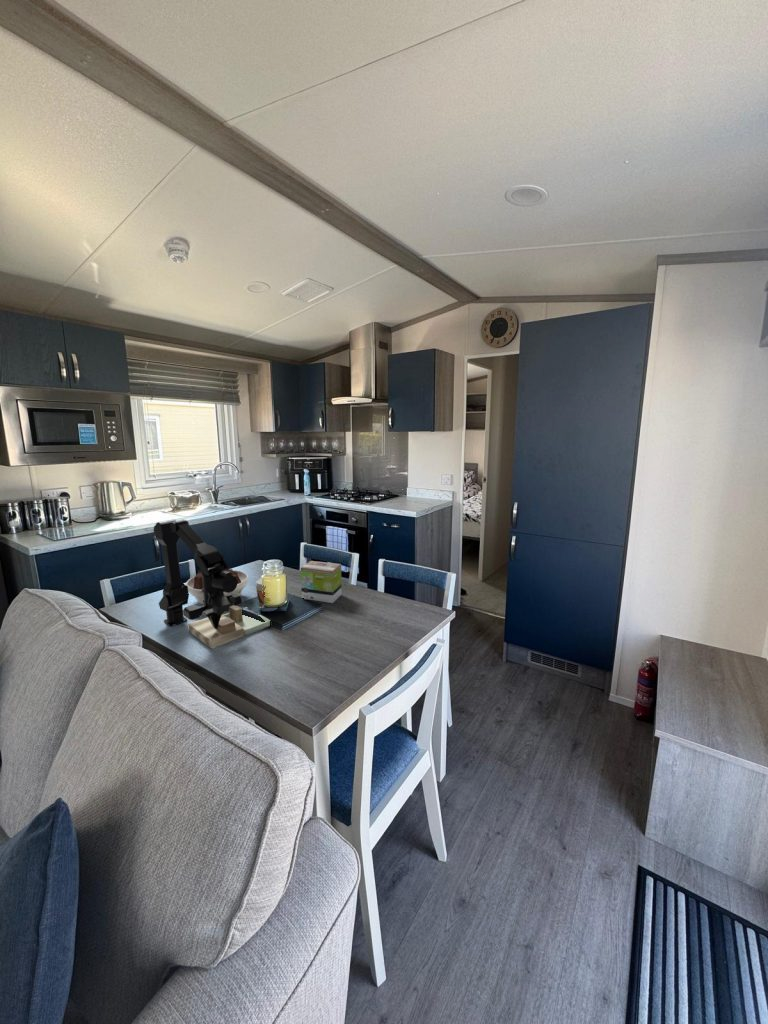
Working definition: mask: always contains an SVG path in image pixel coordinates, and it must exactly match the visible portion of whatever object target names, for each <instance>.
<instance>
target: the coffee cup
mask: <svg viewBox="0 0 768 1024" xmlns="http://www.w3.org/2000/svg"><path fill="white" fill-rule="evenodd" d="M262 578H263V577H261V578H259V579H257V580H256V581H255V587H256V588H255V589H256V593H257V594H256V595H257V602H258V607H259V606H260V607H262V606H263V605H264V597H265V596H264V595H265V592H264V590H265V588H266V586H265V587H264V584H262ZM262 585H263V586H262ZM262 588H263V589H262ZM262 591H263V593H262Z"/></svg>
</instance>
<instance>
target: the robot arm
mask: <svg viewBox="0 0 768 1024" xmlns="http://www.w3.org/2000/svg"><path fill="white" fill-rule="evenodd" d="M153 533H154V535H155V539H156V541H158V543H159V544H160V545H161V548H162V557H163V562H164V563H163V564H164V570H165V578H166V584H165V585H164V587H163V588H162V598H161V599H160V600H159V602H158V607H159V609H160V610H162V611H164V612H166V613H165V615H166V619H163V622H164V623H165V624H166V625H168V626H169V627H173V626H176V625H178V624H182V623H185V622H187V621H188V620H189V621H192V620H196V619H199V618H201V617H202V615H204V616H205V617H206V618H207V617H208V619H209V620H210V622H211V624H212V626H213V627H214V629H217V628H218V624H219V621H220V618H221V615H224V614H225V613H226V612H227V613H228V612H229V610H230V606H233V605H234V606H239V605H242V604H243V598H242V596H241V595H240V596H239V595H237V594H235V593H232V594H228V595H224V593H223V592H227V593H231V592H233V591H234V590H235V589H236V587H237V579H236V577H234V576H232V574H231V572H229V571H225V570H227V569H230V568H229V566H228V563H227V561H226V560H225V558H224V556H223V554H222V553H221V552H220V550H219V549H218V548H216V547H215V546H213V545H210V544H207V543H206V542H205V541H204V540H203V539H202V538H201V537H200V536H199V534H198V533H197V532H196V531H195V530H194V529H193V528H192V526H190V523H189V521H188V520H187V519H180V520H176V519H174V518H173V519H169V520H164V521H159V522H156V523H155V524H154V526H153ZM180 539H181V541H182V542H183V543H184V544H185V545H186V546H187V548H189V550H190V551H191V552H192V553H193V555H194V557H193V558H194V559H193V560H194V561H195V563H196V565H197V566H198V568H199V570H198V572H199V573H202V582H203V589H202V592H203V593H204V600H203V603H204V604H205V605H204V604H202V605H201V606H198V605H197V604H192V605H188V603H189V602H188V601H189V597H190V593H189V592H188V586H187V585H186V583H184V582H183V581H182V576H181V575H182V574H181V568H180V567H181V566H180V560H179V553H178V543H179V540H180ZM212 567H215V568H212ZM198 572H197V573H198ZM185 605H188V606H185ZM183 606H185V607H183Z"/></svg>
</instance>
